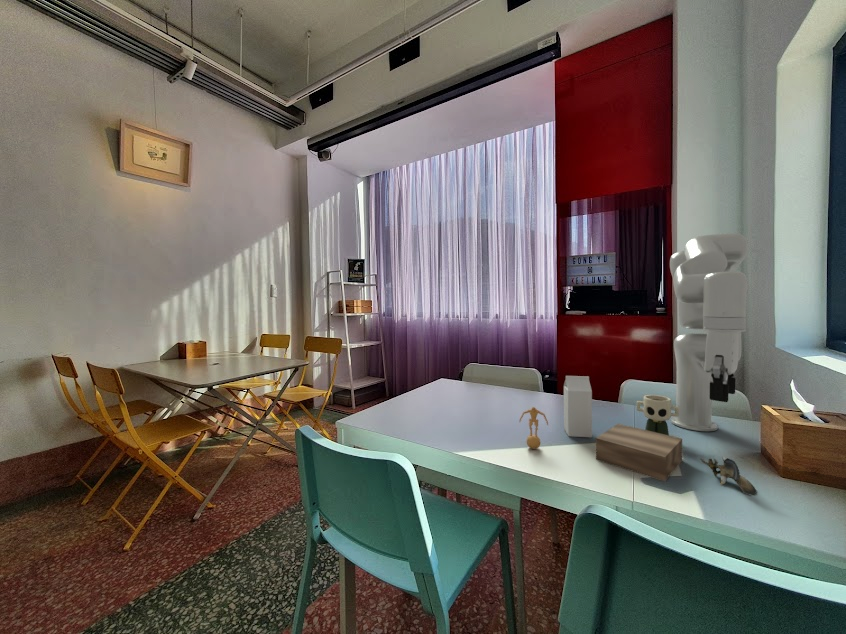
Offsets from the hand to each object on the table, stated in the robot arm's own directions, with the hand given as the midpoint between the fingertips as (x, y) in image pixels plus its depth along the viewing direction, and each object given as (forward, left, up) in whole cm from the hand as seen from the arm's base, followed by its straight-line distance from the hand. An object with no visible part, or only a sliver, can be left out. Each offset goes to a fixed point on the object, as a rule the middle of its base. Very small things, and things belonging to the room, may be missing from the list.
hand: (722, 396), depth 81 cm
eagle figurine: (0, +2, -21) cm, 21 cm away
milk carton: (-5, -37, -21) cm, 43 cm away
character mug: (-18, -18, -21) cm, 33 cm away
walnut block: (+2, -17, -20) cm, 27 cm away
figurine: (+15, -41, -21) cm, 48 cm away
